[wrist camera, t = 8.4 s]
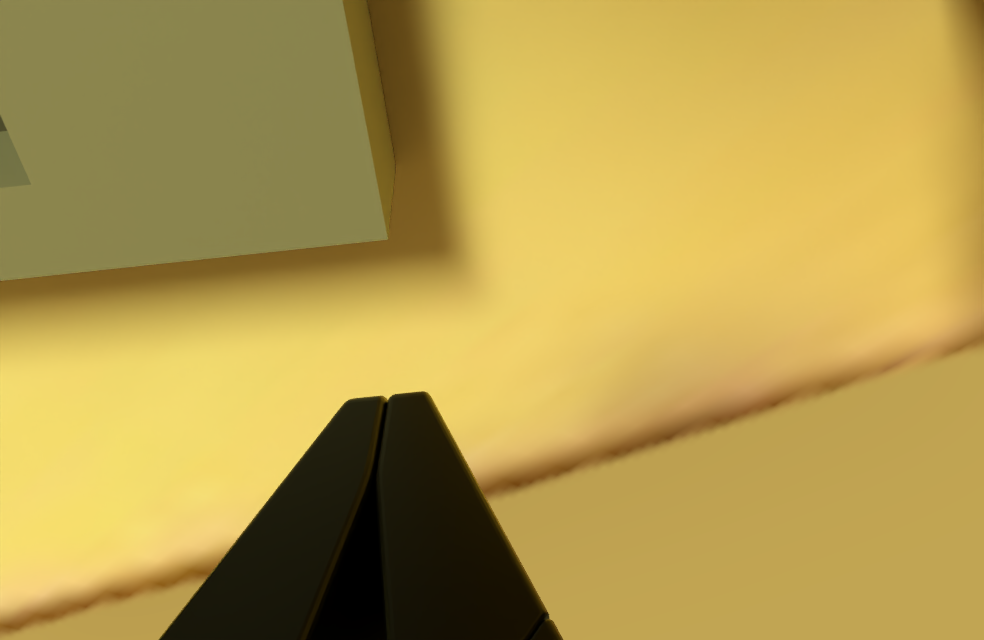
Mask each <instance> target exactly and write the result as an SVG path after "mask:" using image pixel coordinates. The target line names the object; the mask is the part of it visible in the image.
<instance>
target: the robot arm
mask: <svg viewBox="0 0 984 640" xmlns="http://www.w3.org/2000/svg"><path fill="white" fill-rule="evenodd" d="M159 640H563V639H562V637H561V635H560V633H559V632H558V629H557V627H556V626H555V624H554V622H553V621H552V620H550V619H549V614H548V612H547V610H546V608H545V606H544V604H543V603H542V601H541V599H540V597H539V595H538V593H537V592H536V590H535V588H534V586H533V584H532V582H531V581H530V579H529V577H528V575H527V573H526V571H525V569H524V567H523V566H522V564H521V562H520V560H519V558H518V557H517V555H516V553H515V551H514V549H513V548H512V546H511V544H510V542H509V540H508V538H507V536H506V534H505V532H504V531H503V529H502V527H501V525H500V523H499V521H498V519H497V518H496V516H495V514H494V512H493V510H492V508H491V507H490V505H489V503H488V501H487V499H486V497H485V495H484V494H483V492H482V490H481V488H480V486H479V484H478V483H477V481H476V479H475V477H474V475H473V473H472V471H471V470H470V468H469V466H468V464H467V462H466V460H465V459H464V457H463V455H462V453H461V451H460V449H459V447H458V446H457V444H456V442H455V440H454V438H453V436H452V435H451V433H450V431H449V429H448V427H447V425H446V423H445V422H444V420H443V418H442V416H441V414H440V412H439V411H438V409H437V407H436V405H435V403H434V401H433V399H432V398H431V396H430V395H429V394H428V393H427V392H423V391H421V392H412V393H402V394H394V395H392V396H391V397H390V398H389V400H387V399H386V398H385V397H384V396H374V397H364V398H354V399H350V400H348V401H347V402H345V403H344V404H343V405H342V407H341V408H340V409H339V410H338V412H337V413H336V414H335V416H334V417H333V418H332V419H331V421H330V422H329V423H328V424H327V426H326V427H325V428H324V430H323V431H322V432H321V433H320V435H319V436H318V437H317V438H316V440H315V441H314V442H313V444H312V445H311V446H310V447H309V449H308V450H307V451H306V453H305V454H304V455H303V456H302V458H301V459H300V460H299V461H298V463H297V464H296V465H295V467H294V468H293V469H292V470H291V472H290V473H289V474H288V475H287V477H286V478H285V479H284V481H283V482H282V483H281V484H280V486H279V487H278V488H277V489H276V491H275V492H274V493H273V495H272V496H271V497H270V498H269V500H268V501H267V502H266V503H265V505H264V506H263V507H262V509H261V510H260V511H259V512H258V514H257V515H256V516H255V517H254V519H253V520H252V521H251V523H250V524H249V525H248V526H247V528H246V529H245V530H244V531H243V533H242V534H241V535H240V537H239V538H238V539H237V540H236V542H235V543H234V544H233V545H232V547H231V548H230V549H229V551H228V552H227V553H226V554H225V556H224V557H223V558H222V559H221V561H220V562H219V563H218V565H217V566H216V567H215V568H214V570H213V571H212V572H211V573H210V575H209V576H208V577H207V579H206V580H205V581H204V582H203V584H202V585H201V586H200V587H199V589H198V590H197V591H196V593H195V594H194V595H193V597H192V598H191V599H190V600H189V602H188V603H187V604H186V605H185V607H184V608H183V610H181V612H180V613H179V614H178V616H177V617H176V618H175V619H174V621H173V622H172V623H171V624H170V626H169V627H168V628H167V630H166V631H165V632H164V633H163V635H162V636H161V637H160V639H159Z"/></svg>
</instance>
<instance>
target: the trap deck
mask: <svg viewBox="0 0 984 640" xmlns="http://www.w3.org/2000/svg"><path fill="white" fill-rule="evenodd" d="M395 171H396V163H395V157H394V151H393V146H392V140H391V134H390V128H389V123H388V117H387V111H386V105H385V100H384V94H383V88H382V82H381V77H380V71H379V65H378V60H377V54H376V48H375V42H374V37H373V31H372V25H371V19H370V14H369V8H368V2H367V0H0V281H4V280H14V279H23V278H33V277H42V276H51V275H61V274H70V273H80V272H89V271H98V270H108V269H117V268H127V267H136V266H145V265H155V264H164V263H173V262H183V261H192V260H202V259H211V258H220V257H230V256H239V255H249V254H258V253H267V252H277V251H286V250H296V249H305V248H314V247H324V246H333V245H342V244H352V243H361V242H371V241H380V240H388V235H389V226H390V217H391V208H392V199H393V189H394V180H395Z"/></svg>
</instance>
